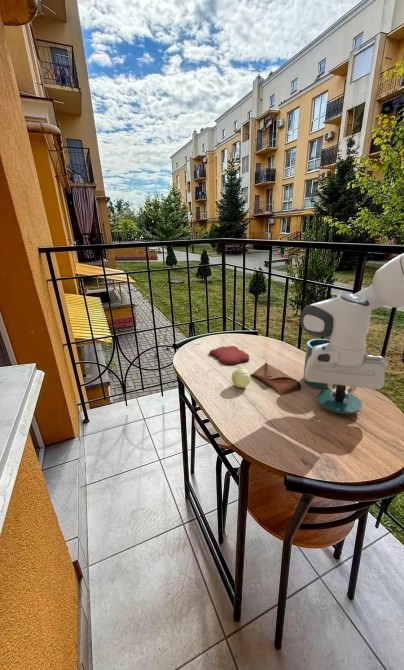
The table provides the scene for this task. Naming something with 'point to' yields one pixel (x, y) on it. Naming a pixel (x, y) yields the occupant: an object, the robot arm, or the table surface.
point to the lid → (339, 401)
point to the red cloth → (230, 355)
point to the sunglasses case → (276, 379)
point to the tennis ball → (241, 378)
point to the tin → (308, 353)
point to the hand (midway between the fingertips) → (339, 396)
